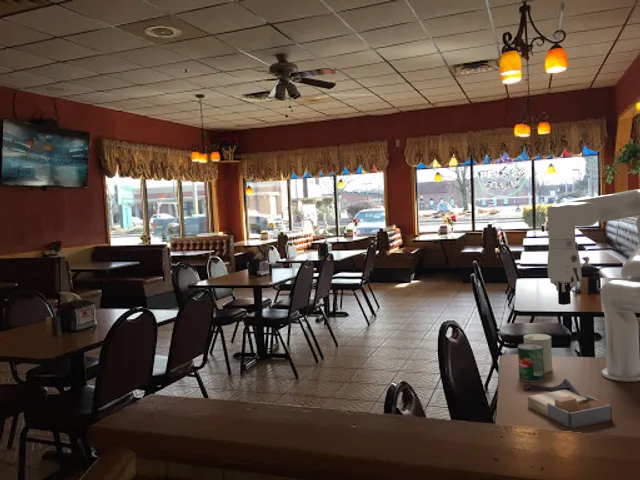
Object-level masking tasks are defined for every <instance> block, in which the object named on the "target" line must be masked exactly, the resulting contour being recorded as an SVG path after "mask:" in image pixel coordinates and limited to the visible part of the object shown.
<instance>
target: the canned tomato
mask: <svg viewBox="0 0 640 480" xmlns="http://www.w3.org/2000/svg"><path fill="white" fill-rule="evenodd" d="M517 358H518V378H519V380H520V381H522V382H526V383H539V382H543V381H544V380H545V373H544V365H543V346H542V345H540V344H534V343H524V342H523V343H519V344H518V345H517Z"/></svg>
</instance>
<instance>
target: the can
mask: <svg viewBox="0 0 640 480" xmlns="http://www.w3.org/2000/svg"><path fill="white" fill-rule="evenodd" d="M522 338H523V344H524V343H534V344H540V345H542V346H543V365H544V374H545V373H550V372H552V371H554V367H553V355H552V335H549V334H545V333H544V334H543V333H529V334H525V335H523V337H522Z"/></svg>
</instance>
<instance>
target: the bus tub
mask: <svg viewBox="0 0 640 480" xmlns="http://www.w3.org/2000/svg"><path fill="white" fill-rule="evenodd" d="M585 398H586V399H587V402H589V401H595V400H599V399H597V398H595V397H592V396H590V395H586V397H585ZM606 404H607V405H606V406H601V407H596V408H591V409H586V410H581V411H579V410H577V411H576V412H571V413H569V412H567V411H565V410H563V409H561V408H559V407H557V406H555V405H553V404H550V403H547V406H548V417H547V418H548V419H550V420H552V421H554V422H556V423H558V424H559V425H561V426H564V427H565V426H566V427H565V428H567V429H569V428H572V429H575V428H576V427H577V428H582V427H585V425H586V426H590V425H595V424H600V423H605V422H610V420H611V421H613V406H612V404H610V403H607V402H606ZM577 428H576V429H577Z"/></svg>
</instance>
